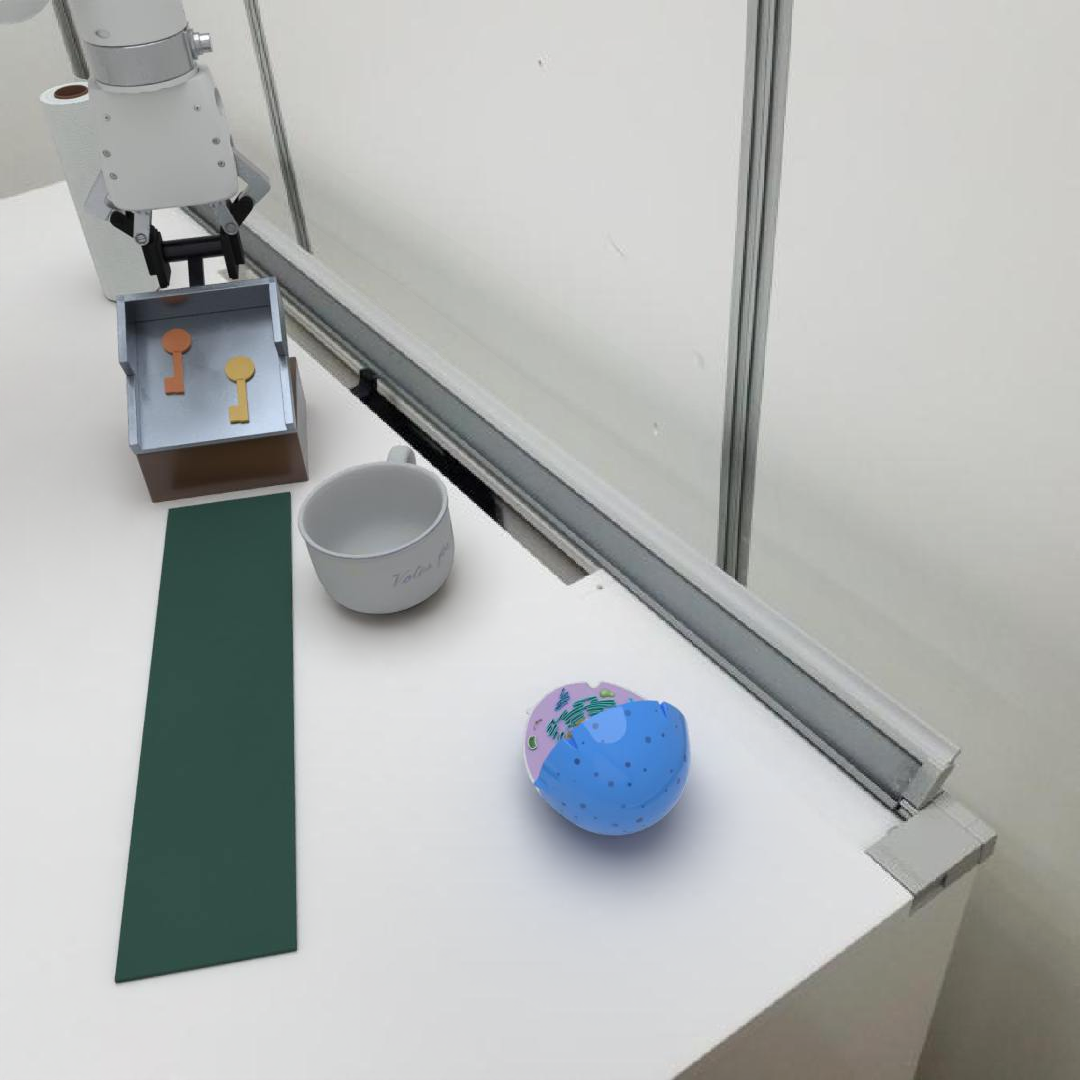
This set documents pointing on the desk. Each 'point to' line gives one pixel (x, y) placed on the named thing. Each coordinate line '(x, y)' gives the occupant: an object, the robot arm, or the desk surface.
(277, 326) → the grey letter tray
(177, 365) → the copper key
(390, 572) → the teacup
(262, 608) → the mat
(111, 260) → the paper towel roll
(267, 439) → the stand
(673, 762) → the cell model
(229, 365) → the brass key
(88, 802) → the desk surface
